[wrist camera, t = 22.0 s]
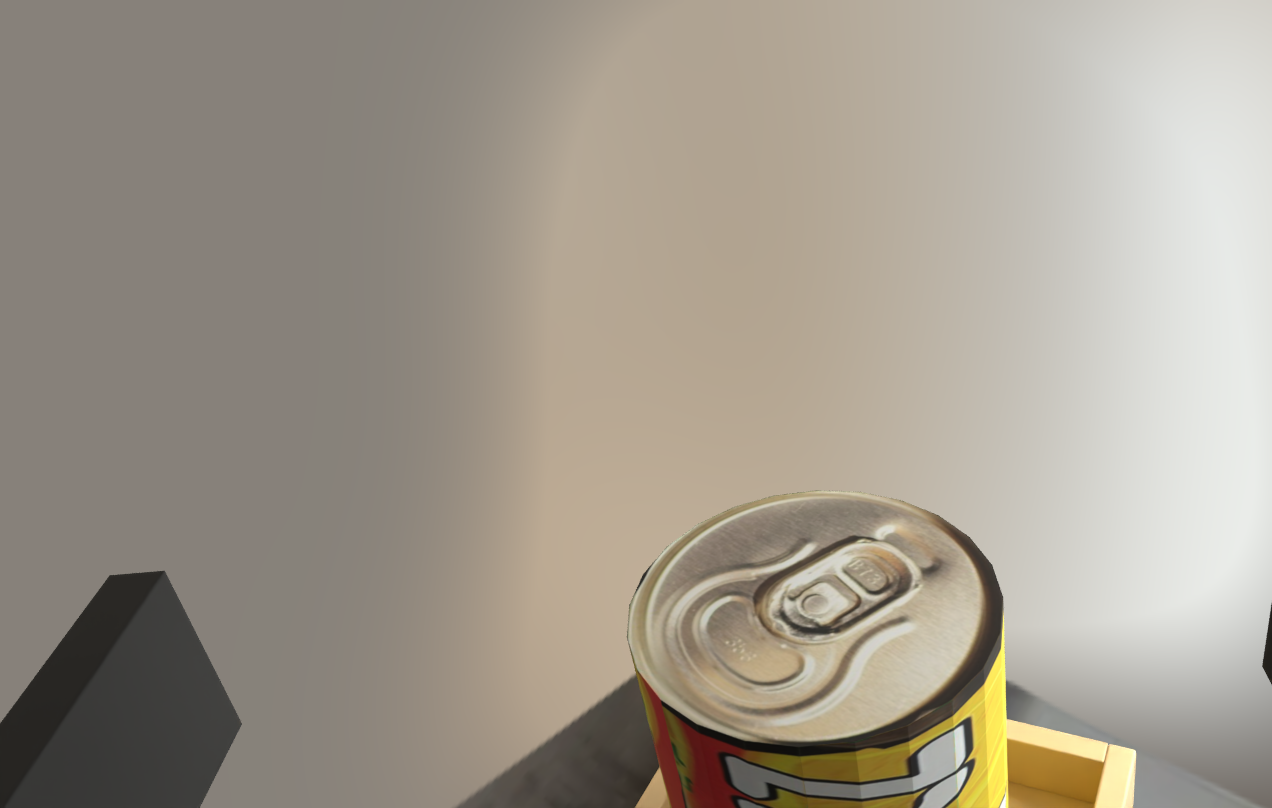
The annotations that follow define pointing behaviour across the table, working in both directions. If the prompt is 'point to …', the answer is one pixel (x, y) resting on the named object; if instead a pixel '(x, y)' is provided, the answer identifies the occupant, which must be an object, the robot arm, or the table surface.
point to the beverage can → (824, 659)
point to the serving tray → (1036, 772)
